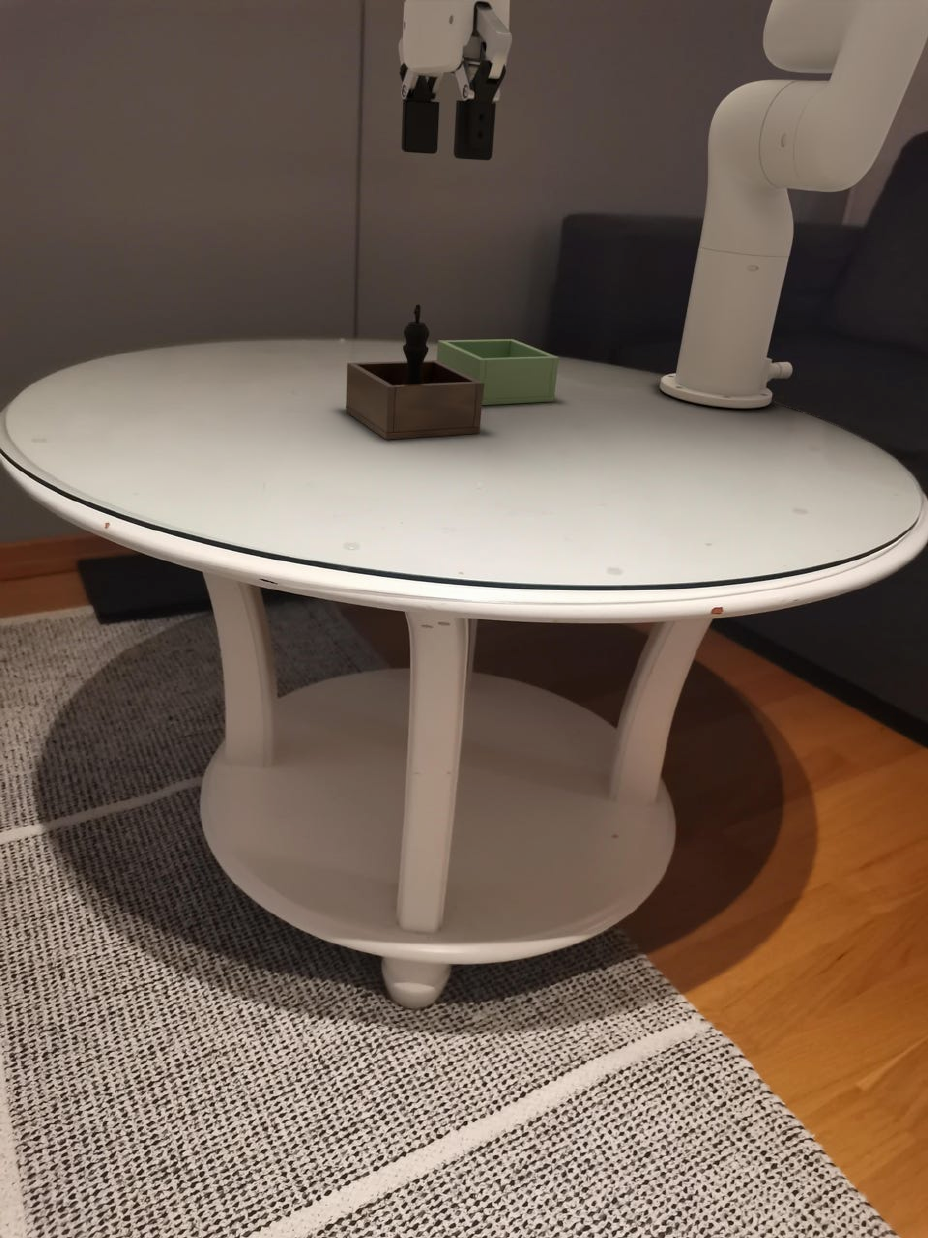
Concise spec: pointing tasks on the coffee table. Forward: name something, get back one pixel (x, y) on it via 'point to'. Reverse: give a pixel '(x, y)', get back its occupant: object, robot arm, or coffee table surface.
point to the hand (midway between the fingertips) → (444, 155)
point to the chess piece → (415, 349)
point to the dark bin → (413, 400)
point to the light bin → (503, 369)
